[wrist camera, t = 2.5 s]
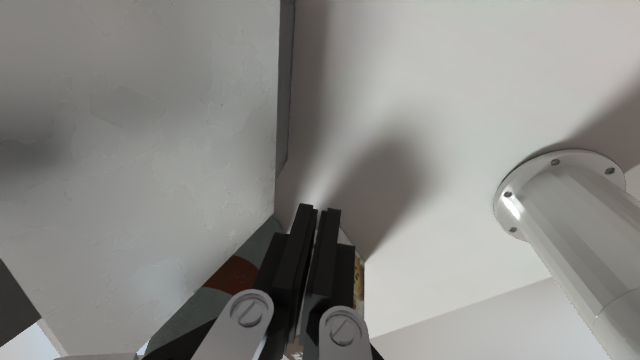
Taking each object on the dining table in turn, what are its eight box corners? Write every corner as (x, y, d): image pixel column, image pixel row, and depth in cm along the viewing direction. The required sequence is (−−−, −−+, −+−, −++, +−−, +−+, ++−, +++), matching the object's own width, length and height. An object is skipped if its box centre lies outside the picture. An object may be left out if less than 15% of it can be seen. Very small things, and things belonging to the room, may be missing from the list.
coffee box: (300, 234, 42) (267, 341, 28) (337, 221, 40) (321, 330, 26) (330, 274, 46) (313, 386, 32) (366, 263, 43) (365, 380, 29)
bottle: (268, 261, 46) (144, 567, 21) (219, 232, 44) (18, 527, 19) (298, 228, 42) (186, 570, 16) (245, 194, 40) (24, 518, 14)
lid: (264, -25, 18) (280, -23, 17) (263, 208, 27) (273, 212, 27) (-767, -281, 3) (-797, -305, 2) (30, 427, 13) (48, 442, 12)
